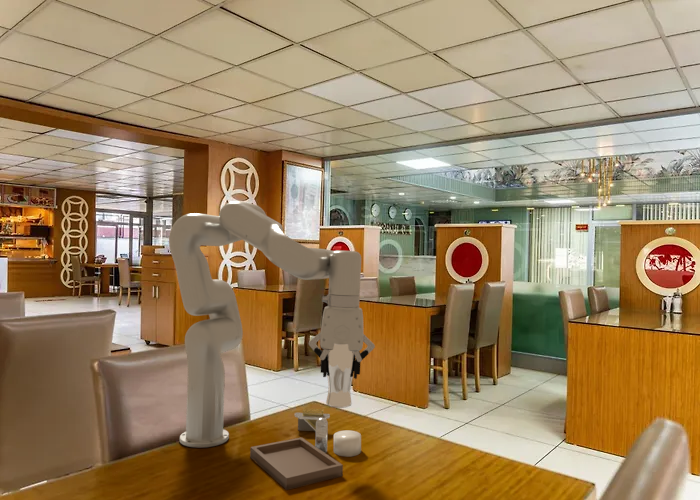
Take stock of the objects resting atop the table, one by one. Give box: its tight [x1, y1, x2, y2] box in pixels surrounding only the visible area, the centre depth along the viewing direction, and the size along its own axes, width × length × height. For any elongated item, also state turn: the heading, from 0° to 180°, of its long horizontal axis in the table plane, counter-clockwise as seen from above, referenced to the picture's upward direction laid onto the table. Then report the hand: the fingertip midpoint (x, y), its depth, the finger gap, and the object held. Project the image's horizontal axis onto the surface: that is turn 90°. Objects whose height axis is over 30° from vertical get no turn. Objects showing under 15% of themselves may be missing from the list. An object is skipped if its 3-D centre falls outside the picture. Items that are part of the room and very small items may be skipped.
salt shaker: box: [314, 418, 329, 454], centre depth 131 cm, size 3×3×8 cm
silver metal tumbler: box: [325, 343, 356, 409], centre depth 123 cm, size 7×7×15 cm
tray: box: [249, 437, 344, 491], centre depth 121 cm, size 20×14×2 cm
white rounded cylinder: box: [333, 430, 362, 458], centre depth 131 cm, size 7×7×4 cm
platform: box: [294, 408, 331, 432], centre depth 145 cm, size 12×18×7 cm, turn 87°
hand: (340, 375), depth 123 cm, fingers closed on silver metal tumbler, 6 cm apart
